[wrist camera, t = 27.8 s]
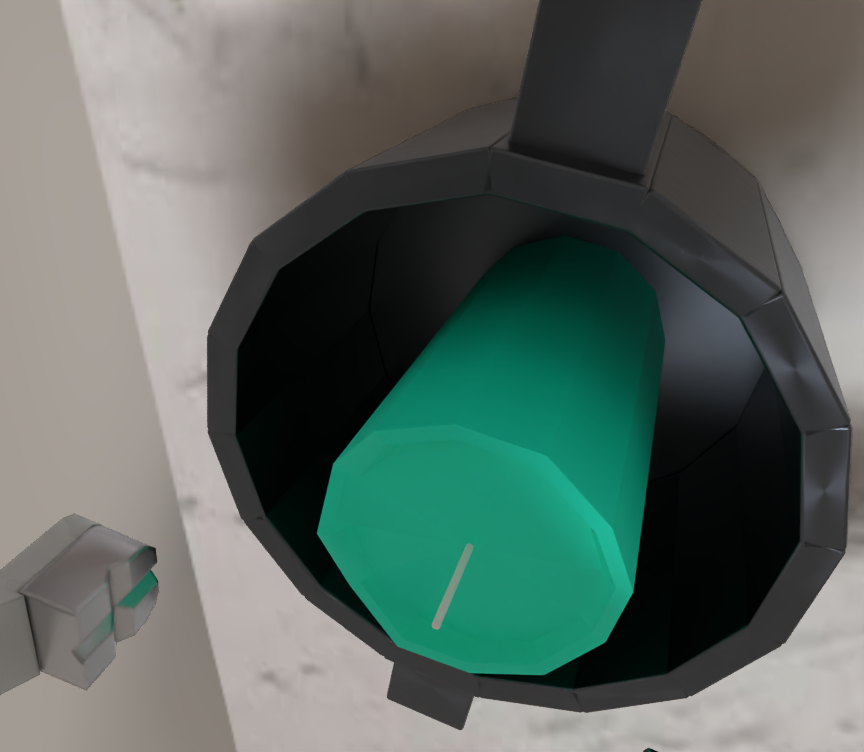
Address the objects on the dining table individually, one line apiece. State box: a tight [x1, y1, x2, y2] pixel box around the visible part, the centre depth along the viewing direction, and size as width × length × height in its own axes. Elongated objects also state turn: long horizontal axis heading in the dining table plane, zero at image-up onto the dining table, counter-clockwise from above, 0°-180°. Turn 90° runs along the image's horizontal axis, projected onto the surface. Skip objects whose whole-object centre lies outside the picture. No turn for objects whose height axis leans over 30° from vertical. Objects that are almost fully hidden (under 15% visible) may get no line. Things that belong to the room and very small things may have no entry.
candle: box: [317, 235, 666, 675], centre depth 17 cm, size 6×6×12 cm
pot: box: [207, 0, 852, 730], centre depth 19 cm, size 14×19×8 cm
